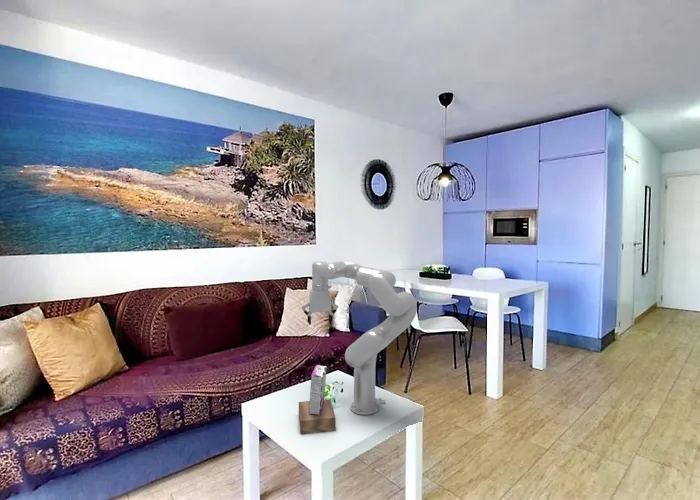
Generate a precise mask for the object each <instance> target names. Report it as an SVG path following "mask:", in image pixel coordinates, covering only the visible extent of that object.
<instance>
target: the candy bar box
mask: <svg viewBox="0 0 700 500" xmlns="http://www.w3.org/2000/svg"><path fill="white" fill-rule="evenodd" d="M310 378H311V379H310V389H309V390H310V392H309V401H310V406H309V414H315V415H320V414H321V411H322V407H323V404H324V400H325V395H326V394H325V393H326V379H327V366H326V365H320V364H316V365H315V367H314V369H313V371H312V373H311V377H310Z"/></svg>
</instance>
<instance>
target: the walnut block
mask: <svg viewBox="0 0 700 500" xmlns="http://www.w3.org/2000/svg"><path fill="white" fill-rule="evenodd" d="M309 406H310V400H305V401H298V421H299V423H298V424H299V433H300V435H309V434H321V433H330V432H336V431H337V430H336V414H335V411H334V408H333V405H332V400H331V398H330V399H329V398H328V399H324V404H323V407H322V411H321V414H320V415H315V414H309Z"/></svg>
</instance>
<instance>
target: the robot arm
mask: <svg viewBox="0 0 700 500" xmlns="http://www.w3.org/2000/svg"><path fill="white" fill-rule="evenodd" d="M311 271H312V272H311V278H312V279H311V290H310V292H309V298H308V299H309V300H308V303H306V304H304V305H303V306H301V309H302V311H303V313H304V314H305V315H306V316H307V324H308V325H309V326H311V325H312V316H311V315H312V314H313V313H328V323H329V324H330V325H332V322H333V317H334V315H335V313H336V312H337V310H338V308H339V305H337V304H336V303H334V302H332V301H331V300H332V298H331V292H330V289H332V285H331V284H329V280H335V279H339V278H347V279H351V280H355V281H356V284H357V285H358V286H361V287H366V288H369V290H370V292H371V293H372V295H373V296H374V298H375V299H376V300H377V301H378V303H379V304H380V306H381V307H382V308H383V310H384V311H385V313H387V314H388V315H389V316H388V317H387V318H386V319H385V320H384V321H383V322H381V323H380V324H378V325H377V326H374V327H373V328H370V329H369V330H367V331H365V332H364V333H363V334H362V335H361V336H359V338H357V339H355V341H354V342H352V343H351V344H350V345H349V346H348V347H347V348H346V350H345V353H344V360H345V362H346V364H347V365H348V366H349V367H352V368H354V369H353V402H351V403H350V410H351V412H353V413H354V414H357V415H359V416H360V415H361V416H369V415H370V416H371V415H374V414H376V413H377V412H378V411H379V406H380V405H386V399H382V397H378V398H377V397H376V364H377V357H378V353H380V352H381V351H382V350H384V349H385V348H387V346H389V344H390V343H392V342H393V341H394V340H395V339H396V338H397V337H399V336H400V335H401V334H402V333H403V332H404V331H405V330H406V329H408V327H410V325H411V324H412V323H413V321H414V320H415V317H416V315H417V311H418V307H417V306H418V305H417V300H416V298H415V296H414V294H412V293H410V292H408V291H402V292H401V291H400V292H398V293H397V292H396V291H395V289H394V287H395V285H396V283H397V279H396V275H395V274H394V273H393V272H392V271H388V270H385V269H378V268H373V267H368V266H363V265H361V264H358V263H353V262H348V261H343V260H342V261H333V262H326V261H313V263H312V265H311ZM332 307H333V310H332ZM307 308H308V311H307V310H306V309H307Z"/></svg>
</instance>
